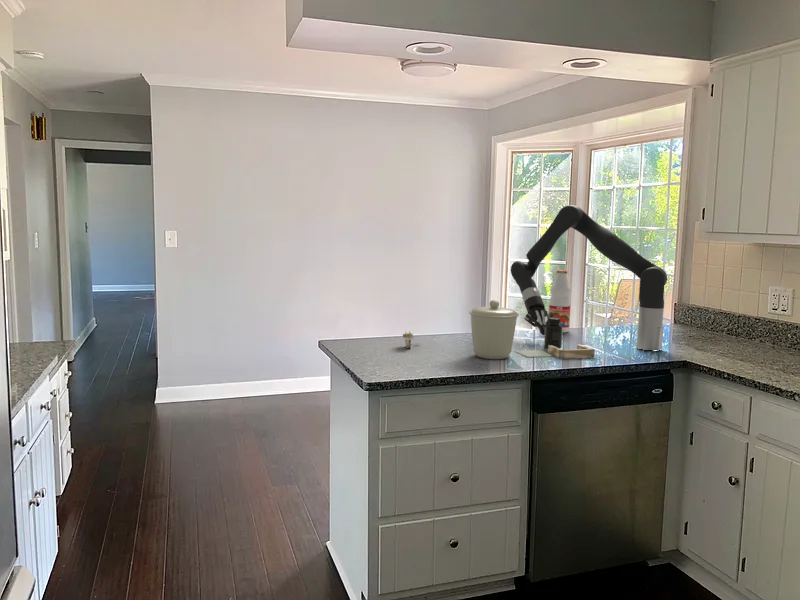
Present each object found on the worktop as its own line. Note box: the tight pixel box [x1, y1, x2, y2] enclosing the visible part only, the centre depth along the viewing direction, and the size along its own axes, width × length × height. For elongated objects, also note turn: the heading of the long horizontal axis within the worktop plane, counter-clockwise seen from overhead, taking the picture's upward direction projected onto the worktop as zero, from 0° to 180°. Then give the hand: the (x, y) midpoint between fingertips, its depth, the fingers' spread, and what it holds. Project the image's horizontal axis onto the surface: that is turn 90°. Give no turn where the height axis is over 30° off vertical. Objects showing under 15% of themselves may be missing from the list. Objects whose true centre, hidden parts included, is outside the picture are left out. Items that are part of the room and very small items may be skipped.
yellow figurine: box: [402, 330, 414, 350], centre depth 258 cm, size 12×18×7 cm, turn 2°
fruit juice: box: [548, 269, 572, 334], centre depth 304 cm, size 9×9×28 cm
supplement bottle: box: [543, 318, 563, 350], centre depth 265 cm, size 7×7×12 cm
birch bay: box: [547, 344, 596, 360], centre depth 252 cm, size 10×14×3 cm
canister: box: [468, 299, 520, 360], centre depth 244 cm, size 18×18×21 cm
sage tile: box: [515, 349, 553, 358], centre depth 252 cm, size 10×10×1 cm
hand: (545, 334), depth 272 cm, fingers closed
